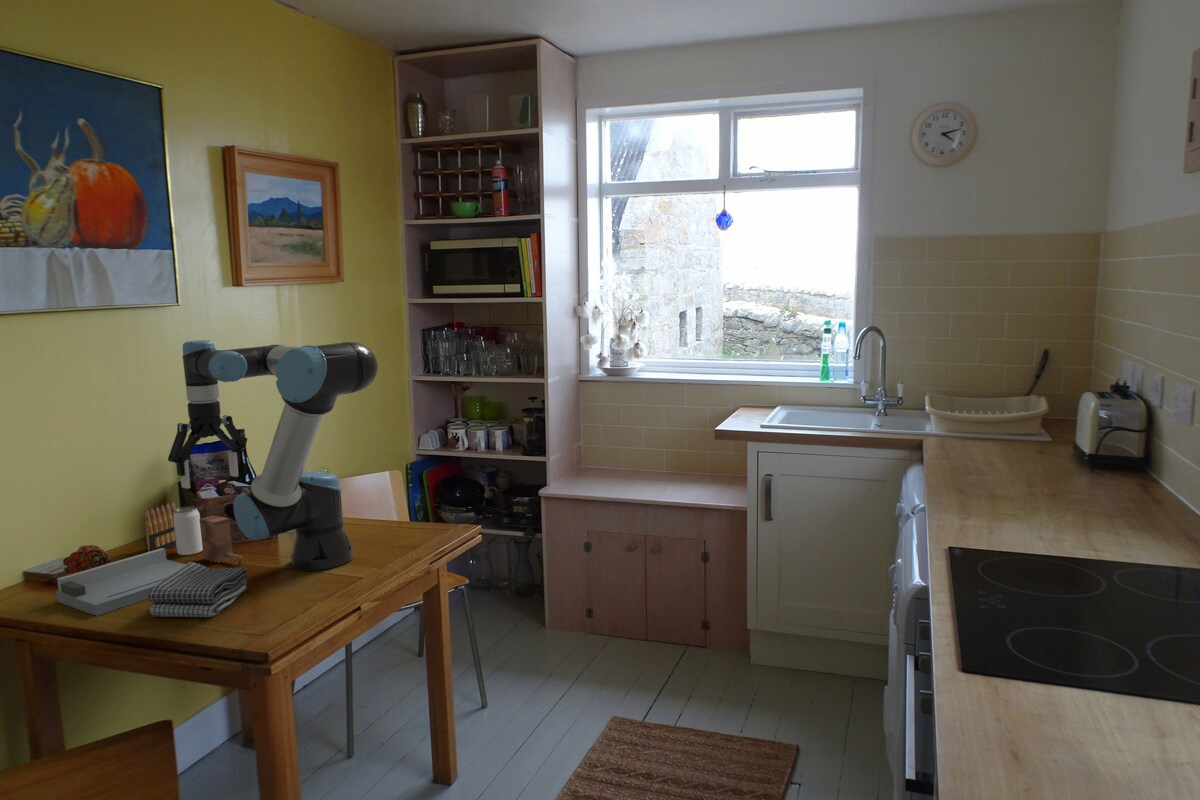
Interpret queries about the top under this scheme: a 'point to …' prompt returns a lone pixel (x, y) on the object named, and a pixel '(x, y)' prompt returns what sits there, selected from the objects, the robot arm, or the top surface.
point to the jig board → (115, 582)
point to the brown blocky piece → (217, 539)
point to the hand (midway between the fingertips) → (210, 481)
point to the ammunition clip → (160, 528)
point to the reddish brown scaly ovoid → (85, 559)
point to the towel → (197, 591)
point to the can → (187, 531)
